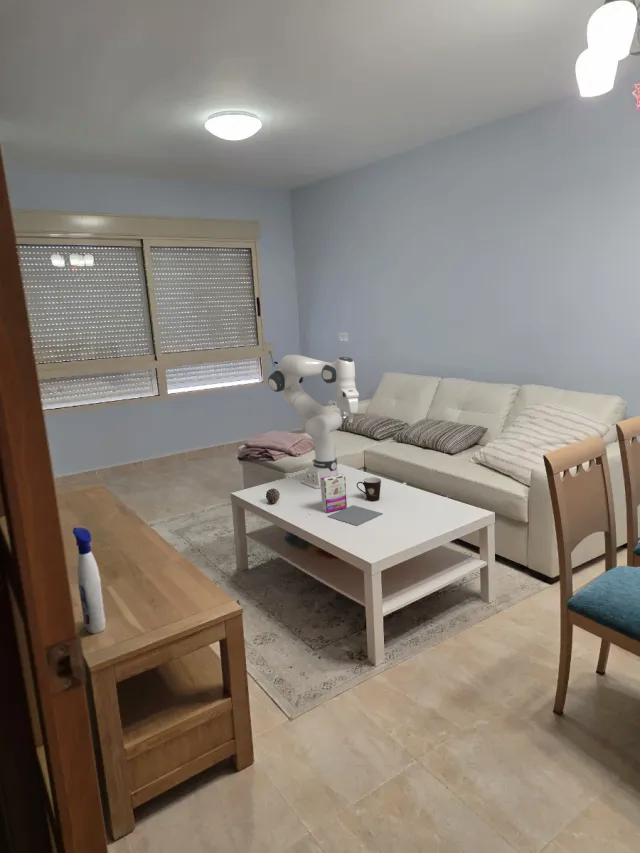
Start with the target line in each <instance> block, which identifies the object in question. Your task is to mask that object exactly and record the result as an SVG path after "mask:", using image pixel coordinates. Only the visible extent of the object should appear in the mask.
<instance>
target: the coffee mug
mask: <svg viewBox="0 0 640 853" xmlns="http://www.w3.org/2000/svg"><path fill="white" fill-rule="evenodd" d="M359 484H362V485H363V486H364V490H362V489H361V488H360V487H359ZM381 484H382V479H381V478H380V477H371V476H369V477H366V478H364V479H363V481H358V482H357V483H356V488H357V489H358V490H359V491H361V492H362V493H364V494H365V498H366V501H368V502H379V501H380V499H381V498H380V497H381V496H380V494H381V487H382V486H381Z"/></svg>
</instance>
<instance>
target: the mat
mask: <svg viewBox="0 0 640 853" xmlns="http://www.w3.org/2000/svg"><path fill="white" fill-rule="evenodd" d="M383 514H384V513H383V512H379V511H375V510H373V509H368V508H364V507H360V506H358V505H354V504H352V505H350V506H347V508H345V509H342V510H338V511H335V512H334V513H332V514H329V515H327V518H328V519H329V518H331V519H333V520H337V521H339V522H342V523H345V524H349V525H352V526H355V527H358V526H360V525H363V524H364V523H367V522H369V521H372V520H373V519H377V518H378V517H380V516H382V515H383Z"/></svg>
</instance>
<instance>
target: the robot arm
mask: <svg viewBox="0 0 640 853" xmlns="http://www.w3.org/2000/svg"><path fill="white" fill-rule="evenodd" d="M355 366H356V365H355V362H354V359H352V358H351V357H348V356H340V357H338V358H337V359H336V360H334V361H332V362H331V361H324V360H319V359H315V358H311V357H309V356H304V355H300V354H286V355H284V356H283V357H282V358H281V361H280V368H278V369H277V370H275V371H274V372H272V373H271V374H270V375H269V376H268V379H267V381H268V386H269V388H270V389H271V390H272V391H273V392H276V393H279V392H282V397H283V398H284V400H285V401H286V402H287V404H288V405H289V406H290V407H291V408H292V409H293V410H294V411H295V412H296V413H297V414H298V415H299V416H300V417H301V418H303V419H307V421H306V422H305V424H304V430H305V432H306V434H307V435H308V436H310V438H311V439H312V442H313V444H314V446H313V447H314V455H315V456H314V459H312V460H311V462H312V464H313V465H312V466H310V468H308V469H307V470H305V474H304V478H302V479H301V480H300V483H301V484H304V485H306V486H309V487H311V488H313V489H321V480H320V478H323V477H327V476H332V475H336V474H339V472H338V471H339V470H338V466H337V465H338V459H337V457H336V456H337V454H336V452H337V451H336V444H335V442H333V441H332V439H331V436H330V435H331V434H330V433H333V432H335V431H337V430H338V429H339V428H341V427H342V424H343V419H346V418H347V417H346V416H347V415H346V413H348V418H347V421H348V422H349V423H353V419H354V415H356V414H357V413H358V411H359V397H360V393H359V391H358V390H357V388H356V386H357V385H356V380H355V379H356V374H357V373H356V372H357V370H356V367H355ZM319 375H321V377H322V380H323V382H325V383H326V384H330V385H331V384H336V407H337V408H338V409H340V413H339V412H337V411H333V410H331V409H329V408H326V407H325V406H323V405H322V404H320V403H318V402H317V401H316V400H315V399H313V398H312V397H311V396H310V395H309V394H308V393H307V392H306V391H305V390H303V389H302V387H301V386H300V384H302V383H303V382H304V378H308V377H314V376H319Z"/></svg>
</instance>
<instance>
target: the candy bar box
mask: <svg viewBox="0 0 640 853" xmlns="http://www.w3.org/2000/svg"><path fill="white" fill-rule="evenodd" d="M320 480H321V488H320V493H321V494H320V495H321V505H322V507H321V509H322V511H323V512H325V513H326V514H329V513H333V512H334V513H335V512H338V511H341V510H343V509H345V508H348V505H347V504H348V503H347V488H346V484H347V483H346V475H344V474H342V473H338V474H336V475H332V476H327V477H323V478H320Z"/></svg>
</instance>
